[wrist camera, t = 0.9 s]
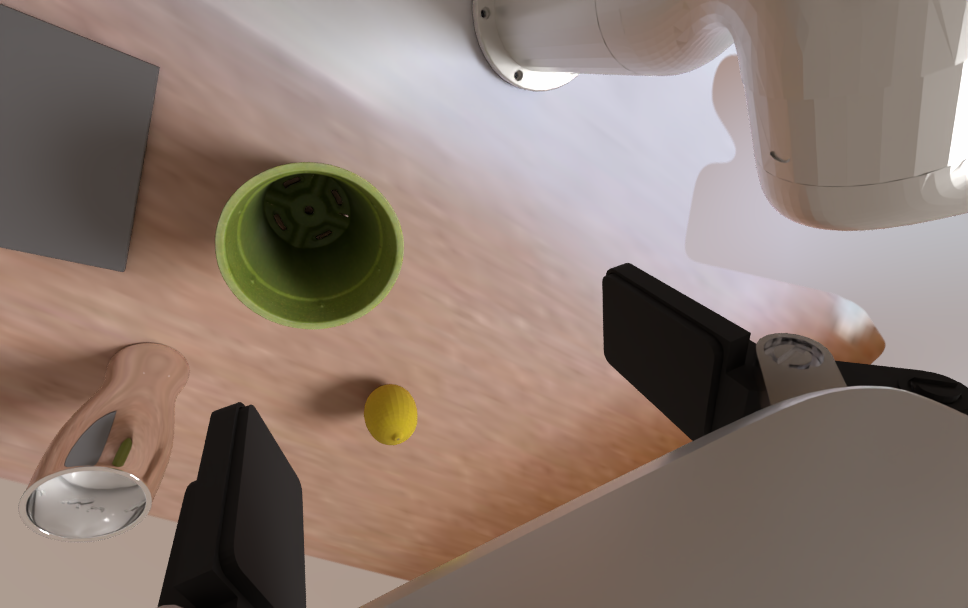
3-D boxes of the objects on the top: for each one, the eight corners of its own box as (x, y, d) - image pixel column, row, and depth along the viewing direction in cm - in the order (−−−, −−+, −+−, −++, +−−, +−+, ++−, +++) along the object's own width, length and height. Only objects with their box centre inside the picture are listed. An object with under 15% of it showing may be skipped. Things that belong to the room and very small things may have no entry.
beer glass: (192, 402, 43) (152, 539, 30) (100, 400, 40) (15, 551, 27) (199, 342, 40) (159, 463, 28) (102, 333, 37) (10, 466, 25)
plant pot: (328, 292, 43) (338, 355, 34) (203, 220, 36) (173, 273, 27) (404, 198, 41) (437, 236, 32) (289, 104, 35) (288, 119, 25)
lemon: (357, 411, 50) (367, 463, 44) (362, 371, 48) (373, 419, 42) (404, 408, 53) (421, 456, 46) (411, 369, 51) (429, 415, 44)
